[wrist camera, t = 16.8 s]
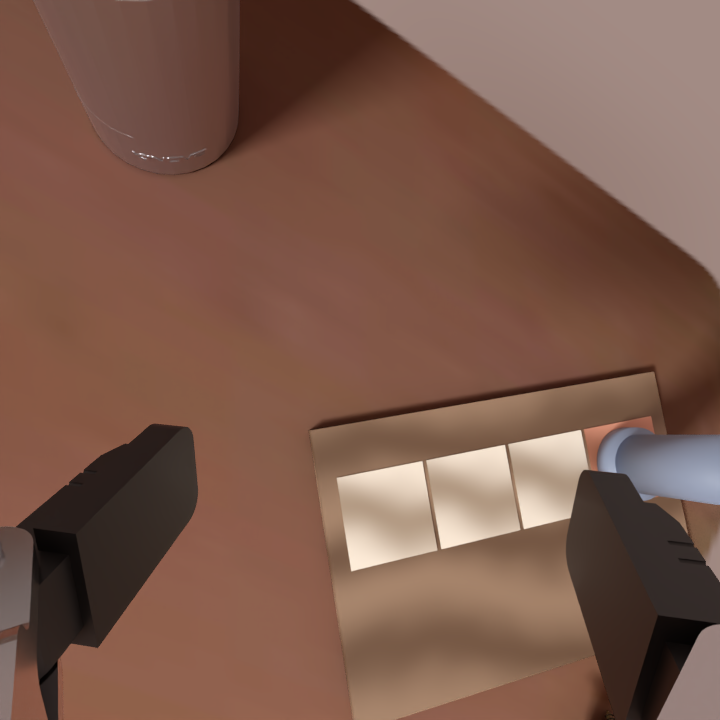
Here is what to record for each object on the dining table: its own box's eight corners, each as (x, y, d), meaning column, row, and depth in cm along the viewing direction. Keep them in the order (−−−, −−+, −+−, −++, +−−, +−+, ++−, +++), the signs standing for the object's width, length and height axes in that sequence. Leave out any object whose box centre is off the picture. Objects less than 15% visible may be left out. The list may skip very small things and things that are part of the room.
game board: (308, 430, 33) (310, 430, 32) (643, 372, 40) (654, 371, 39) (353, 722, 32) (357, 733, 31) (694, 614, 38) (707, 619, 37)
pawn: (591, 431, 37) (778, 431, 24) (648, 423, 38) (852, 419, 26) (603, 504, 36) (800, 540, 24) (661, 493, 37) (875, 522, 25)
